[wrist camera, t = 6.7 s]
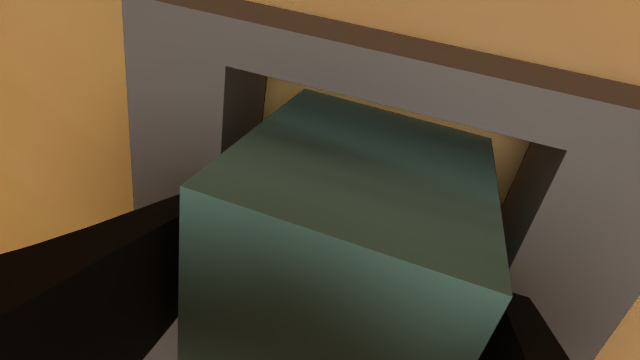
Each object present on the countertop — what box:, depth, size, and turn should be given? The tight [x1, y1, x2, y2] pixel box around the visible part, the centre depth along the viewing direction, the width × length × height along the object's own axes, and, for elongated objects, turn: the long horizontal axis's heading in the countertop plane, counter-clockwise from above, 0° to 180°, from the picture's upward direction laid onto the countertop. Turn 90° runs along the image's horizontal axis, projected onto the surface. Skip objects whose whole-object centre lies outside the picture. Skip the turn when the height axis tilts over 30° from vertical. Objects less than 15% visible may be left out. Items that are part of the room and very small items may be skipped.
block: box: [177, 89, 513, 360], centre depth 10 cm, size 5×5×6 cm
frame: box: [122, 0, 640, 360], centre depth 13 cm, size 16×12×3 cm
